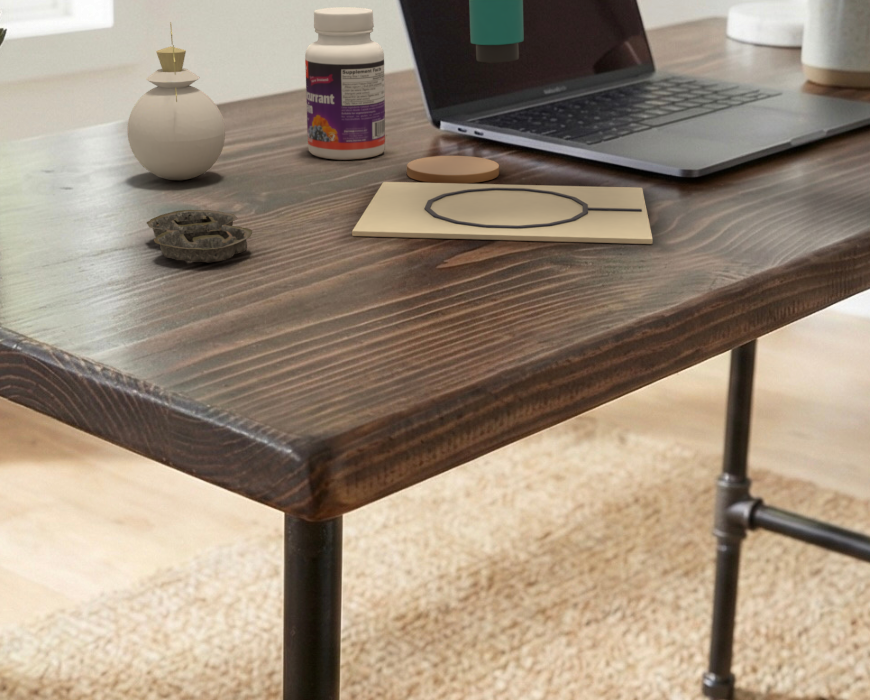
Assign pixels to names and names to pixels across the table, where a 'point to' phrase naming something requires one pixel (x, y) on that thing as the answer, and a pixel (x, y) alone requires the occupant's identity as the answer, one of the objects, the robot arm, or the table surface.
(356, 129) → the pill bottle
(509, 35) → the cylinder
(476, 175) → the coaster
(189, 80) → the ornament
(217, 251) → the corroded twin loop
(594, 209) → the yellow board
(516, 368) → the table surface
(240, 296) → the table surface
